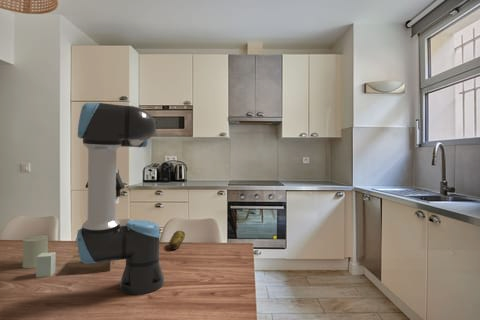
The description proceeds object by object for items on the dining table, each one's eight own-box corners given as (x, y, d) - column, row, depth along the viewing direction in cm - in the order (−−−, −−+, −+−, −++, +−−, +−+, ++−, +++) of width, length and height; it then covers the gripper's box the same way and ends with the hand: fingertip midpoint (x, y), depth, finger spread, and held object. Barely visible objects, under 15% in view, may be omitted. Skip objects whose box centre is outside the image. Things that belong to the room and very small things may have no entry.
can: (34, 269, 119) (35, 240, 119) (16, 267, 121) (17, 239, 121) (53, 261, 128) (53, 235, 128) (36, 260, 130) (36, 233, 130)
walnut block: (110, 271, 118) (110, 259, 118) (66, 275, 114) (66, 263, 114) (116, 259, 133) (116, 248, 133) (78, 262, 129) (78, 251, 129)
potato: (162, 249, 148) (162, 233, 148) (177, 243, 160) (177, 228, 160) (174, 251, 144) (174, 235, 145) (189, 245, 156) (189, 230, 156)
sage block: (50, 276, 112) (51, 255, 112) (36, 277, 110) (36, 256, 111) (55, 271, 117) (55, 252, 117) (41, 272, 115) (41, 253, 115)
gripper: (132, 159, 139) (131, 203, 139) (89, 159, 145) (88, 201, 145) (122, 159, 132) (121, 205, 131) (77, 159, 138) (77, 203, 137)
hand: (104, 203), depth 138 cm, fingers open, 13 cm apart
